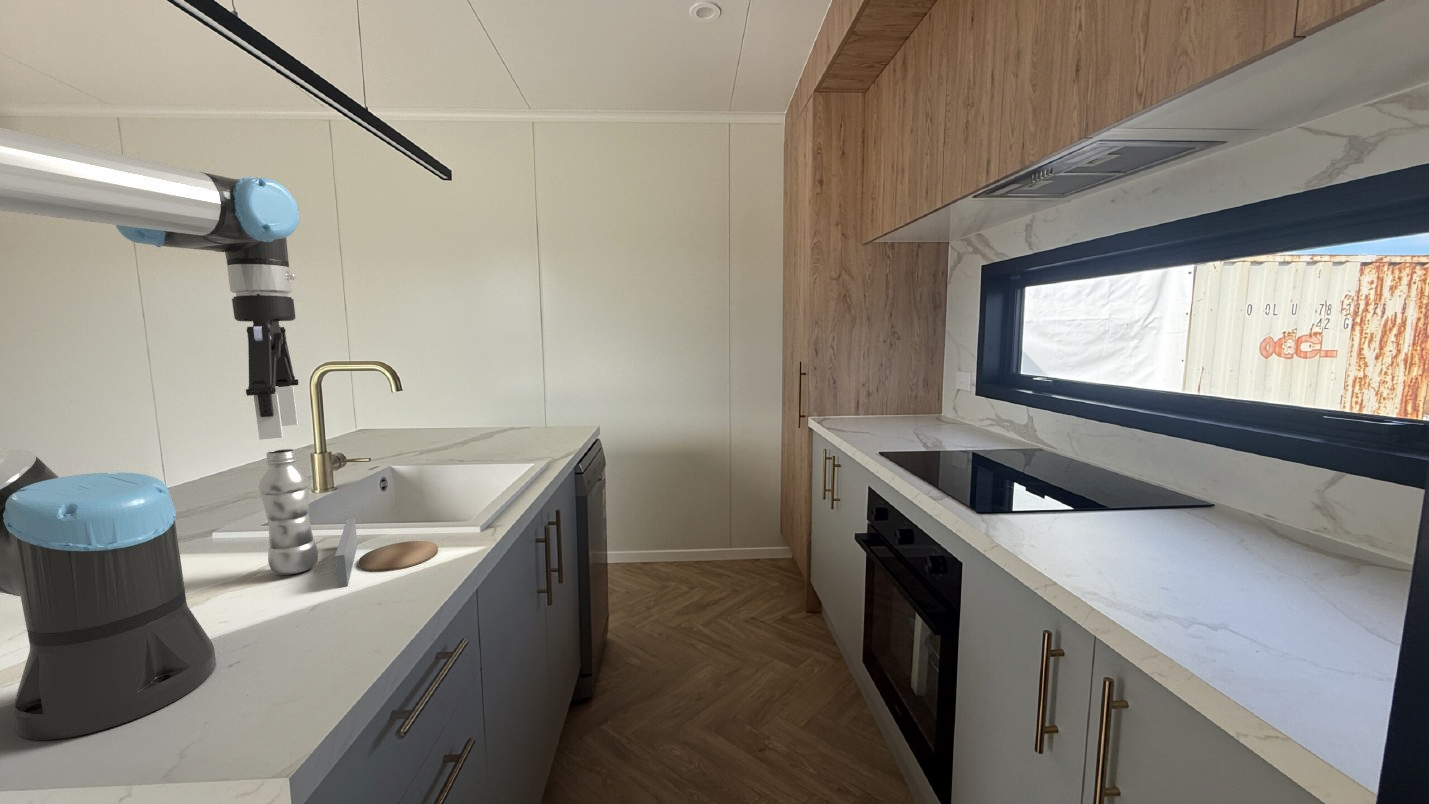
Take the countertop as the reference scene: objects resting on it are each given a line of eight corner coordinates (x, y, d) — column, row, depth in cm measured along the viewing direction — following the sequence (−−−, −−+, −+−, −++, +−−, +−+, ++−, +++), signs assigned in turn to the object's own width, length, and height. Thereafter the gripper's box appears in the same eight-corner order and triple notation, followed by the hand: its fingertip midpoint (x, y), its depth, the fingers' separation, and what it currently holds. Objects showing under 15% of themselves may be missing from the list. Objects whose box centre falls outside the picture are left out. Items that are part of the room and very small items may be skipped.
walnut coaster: (356, 577, 91) (355, 573, 91) (361, 552, 102) (361, 549, 102) (439, 561, 97) (439, 558, 97) (436, 539, 107) (436, 536, 107)
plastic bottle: (301, 579, 91) (286, 455, 88) (259, 580, 91) (243, 456, 88) (329, 563, 97) (316, 446, 95) (289, 563, 97) (275, 447, 95)
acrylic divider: (338, 587, 88) (334, 556, 87) (349, 545, 105) (347, 519, 104) (347, 585, 88) (344, 554, 87) (357, 544, 106) (354, 518, 105)
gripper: (277, 290, 79) (295, 441, 82) (304, 299, 101) (319, 418, 104) (206, 289, 76) (228, 448, 79) (251, 299, 98) (267, 422, 101)
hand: (280, 431), depth 91 cm, fingers open, 13 cm apart
